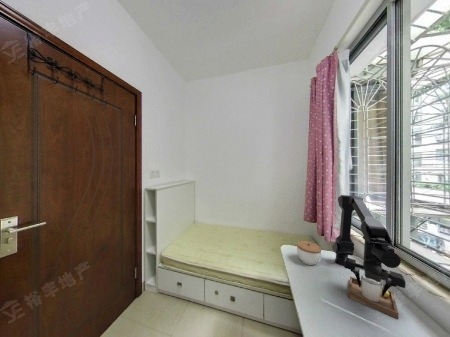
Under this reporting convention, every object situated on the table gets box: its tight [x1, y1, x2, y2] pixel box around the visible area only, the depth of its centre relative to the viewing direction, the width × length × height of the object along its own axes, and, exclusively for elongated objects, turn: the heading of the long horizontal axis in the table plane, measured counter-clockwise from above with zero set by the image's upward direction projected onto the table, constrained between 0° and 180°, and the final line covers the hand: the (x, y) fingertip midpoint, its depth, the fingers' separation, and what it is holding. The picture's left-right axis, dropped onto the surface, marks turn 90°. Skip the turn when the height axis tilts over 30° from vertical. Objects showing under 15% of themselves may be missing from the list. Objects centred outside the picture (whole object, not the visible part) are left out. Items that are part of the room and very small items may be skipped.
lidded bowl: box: [296, 240, 322, 266], centre depth 96 cm, size 13×13×11 cm
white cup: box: [360, 274, 383, 302], centre depth 70 cm, size 7×7×7 cm
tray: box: [347, 276, 400, 320], centre depth 70 cm, size 15×15×2 cm
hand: (370, 291), depth 70 cm, fingers open, 7 cm apart
